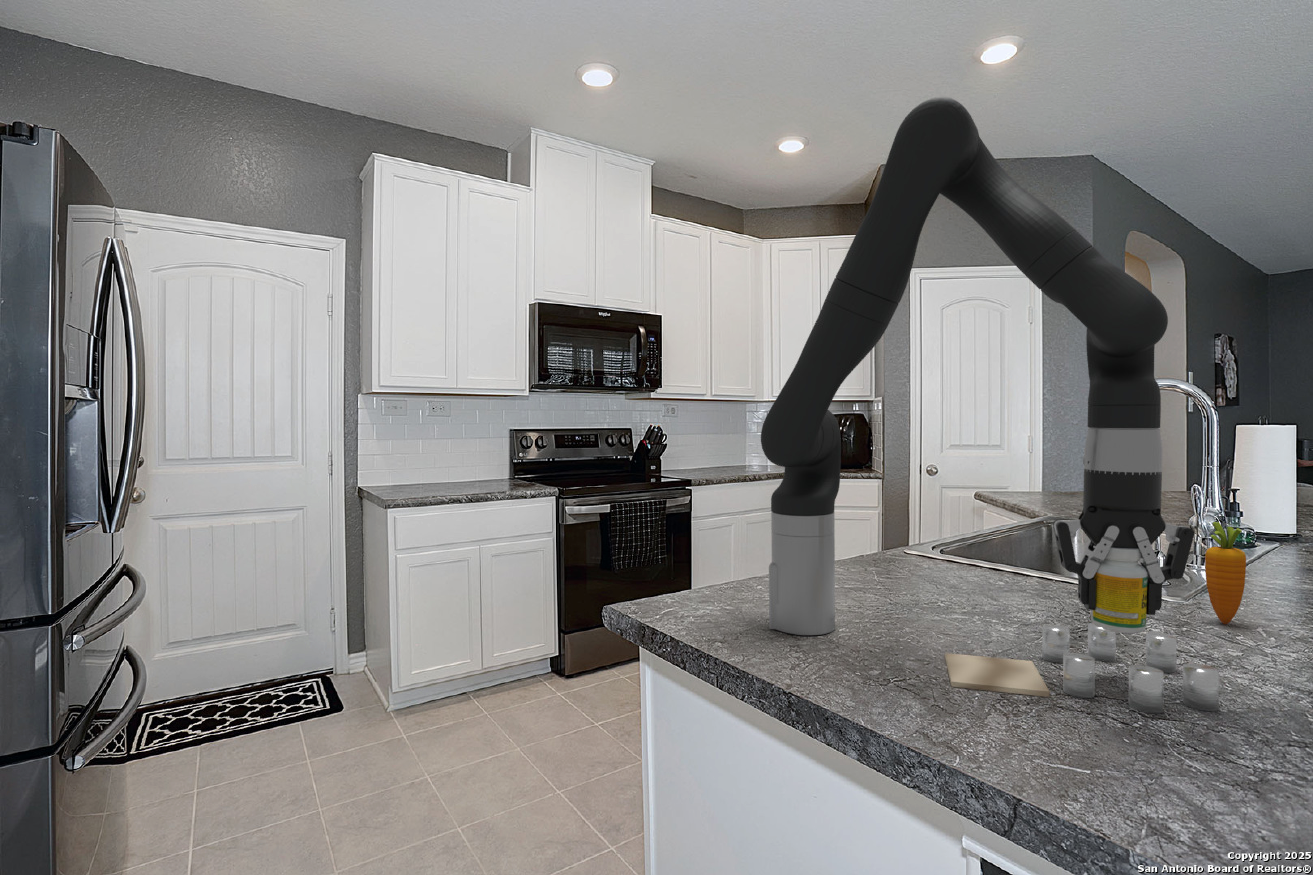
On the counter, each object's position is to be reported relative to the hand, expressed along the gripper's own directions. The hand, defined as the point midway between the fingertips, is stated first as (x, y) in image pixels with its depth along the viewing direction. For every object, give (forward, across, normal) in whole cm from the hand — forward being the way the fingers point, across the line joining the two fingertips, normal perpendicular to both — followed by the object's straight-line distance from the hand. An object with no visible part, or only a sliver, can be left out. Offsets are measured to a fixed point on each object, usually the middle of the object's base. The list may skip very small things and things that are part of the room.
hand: (1118, 610), depth 80 cm
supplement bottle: (+2, 0, 0) cm, 2 cm away
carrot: (+8, +22, +29) cm, 37 cm away
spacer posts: (+8, 0, 0) cm, 8 cm away
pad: (+8, -14, -3) cm, 16 cm away
